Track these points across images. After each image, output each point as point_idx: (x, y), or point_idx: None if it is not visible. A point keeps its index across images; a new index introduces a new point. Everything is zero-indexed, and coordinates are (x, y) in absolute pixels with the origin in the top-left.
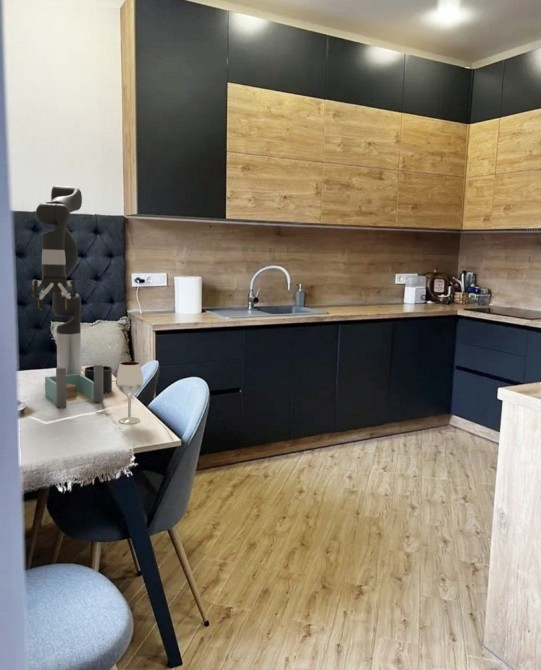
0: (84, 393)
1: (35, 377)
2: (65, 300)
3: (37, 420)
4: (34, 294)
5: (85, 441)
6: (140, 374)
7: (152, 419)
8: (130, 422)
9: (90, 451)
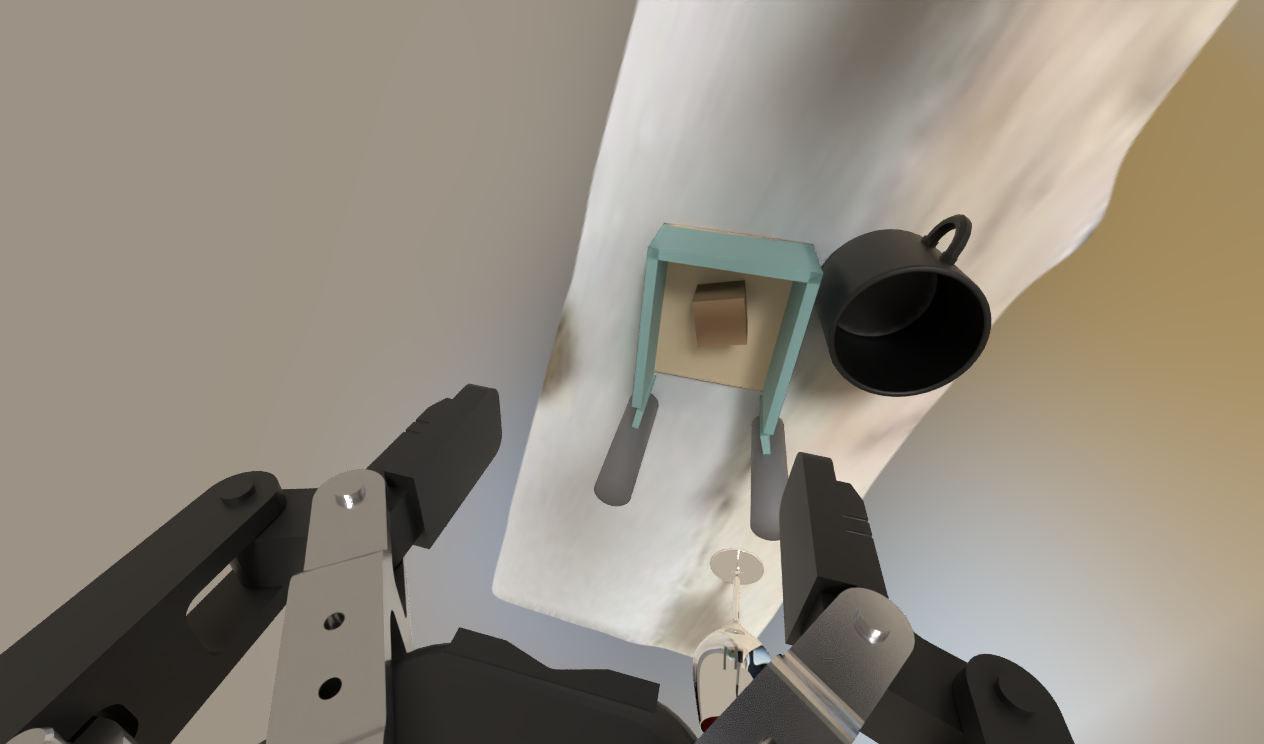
0: (780, 331)
1: None
2: (805, 572)
3: (557, 442)
4: (245, 593)
5: (597, 587)
6: None
7: None
8: (727, 578)
9: (586, 617)
